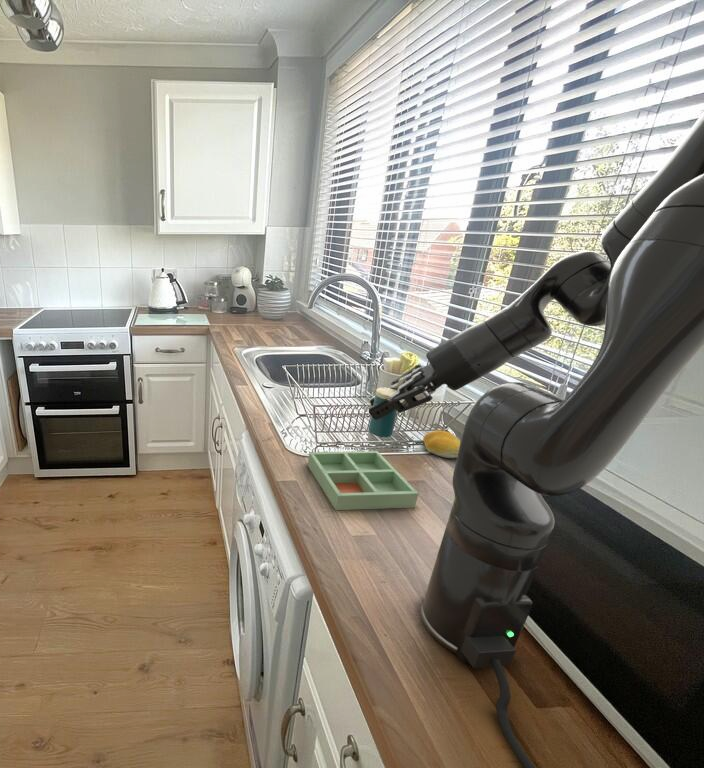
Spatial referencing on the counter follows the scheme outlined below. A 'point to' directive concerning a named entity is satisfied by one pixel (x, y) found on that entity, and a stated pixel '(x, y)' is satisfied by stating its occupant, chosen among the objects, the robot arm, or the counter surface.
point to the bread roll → (442, 444)
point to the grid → (361, 480)
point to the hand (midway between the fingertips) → (372, 409)
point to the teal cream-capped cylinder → (385, 423)
